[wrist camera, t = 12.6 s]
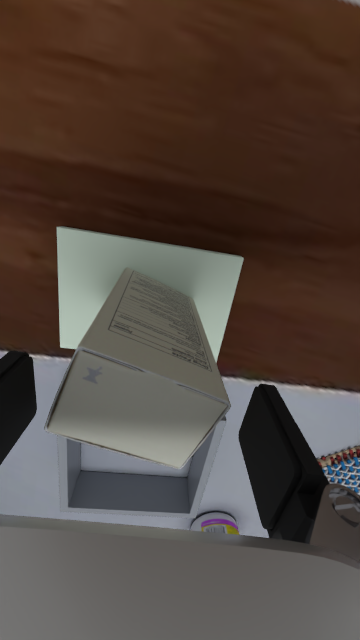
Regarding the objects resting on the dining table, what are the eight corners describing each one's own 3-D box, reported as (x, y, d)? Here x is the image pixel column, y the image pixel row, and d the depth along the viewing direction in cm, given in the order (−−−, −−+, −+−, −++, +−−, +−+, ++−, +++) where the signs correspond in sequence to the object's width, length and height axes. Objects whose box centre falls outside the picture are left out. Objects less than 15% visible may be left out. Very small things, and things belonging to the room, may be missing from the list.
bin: (218, 391, 26) (226, 421, 22) (192, 482, 31) (195, 518, 28) (72, 375, 24) (55, 405, 20) (73, 474, 30) (60, 511, 26)
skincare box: (105, 311, 20) (30, 431, 9) (126, 264, 19) (66, 340, 8) (174, 341, 22) (181, 477, 11) (198, 300, 20) (235, 407, 9)
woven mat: (378, 432, 30) (392, 446, 28) (386, 482, 34) (399, 498, 32) (294, 459, 31) (302, 475, 29) (312, 505, 35) (320, 521, 33)
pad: (240, 255, 20) (243, 258, 19) (213, 359, 24) (215, 365, 23) (62, 226, 19) (56, 227, 18) (64, 341, 23) (60, 347, 22)
